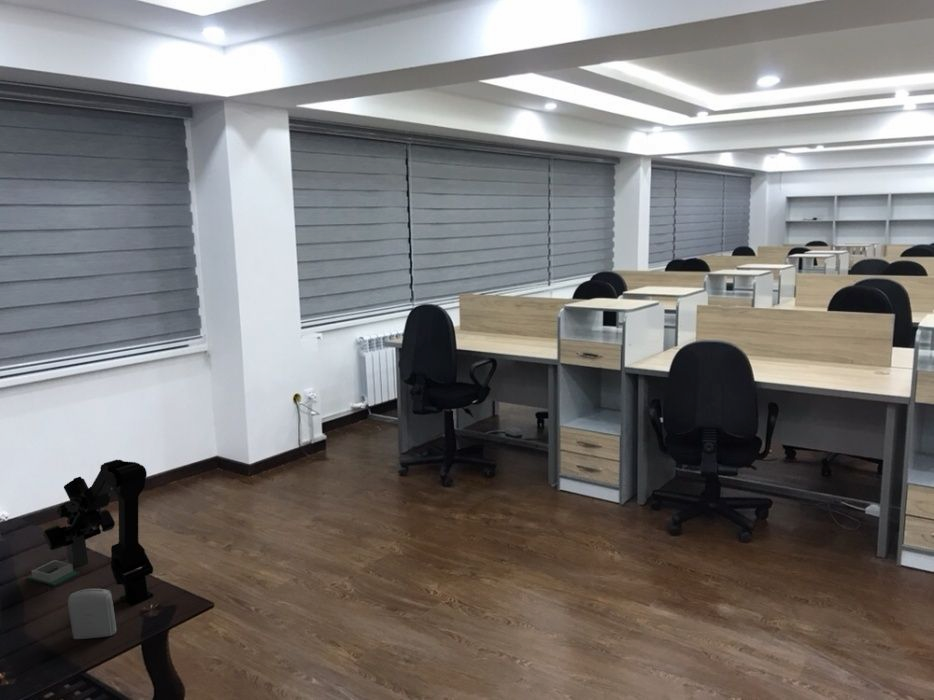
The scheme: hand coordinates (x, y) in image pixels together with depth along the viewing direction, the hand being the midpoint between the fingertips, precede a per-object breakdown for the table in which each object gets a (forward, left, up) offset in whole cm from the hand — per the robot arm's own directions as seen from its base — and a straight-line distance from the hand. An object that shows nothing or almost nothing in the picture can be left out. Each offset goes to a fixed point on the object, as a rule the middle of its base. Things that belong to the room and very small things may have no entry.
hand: (73, 542), depth 227 cm
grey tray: (-3, +8, -7) cm, 11 cm away
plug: (-1, 0, -7) cm, 7 cm away
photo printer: (-45, +17, -7) cm, 49 cm away
